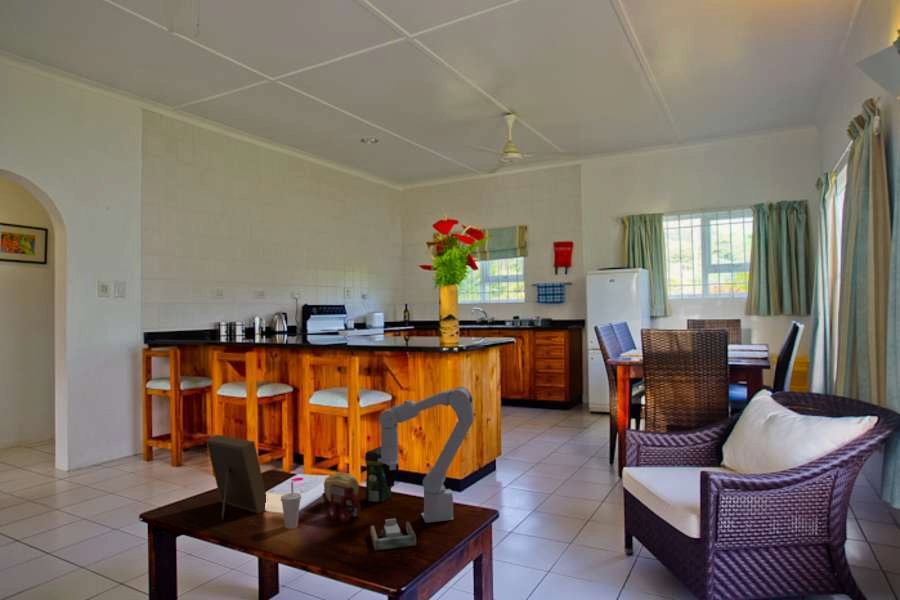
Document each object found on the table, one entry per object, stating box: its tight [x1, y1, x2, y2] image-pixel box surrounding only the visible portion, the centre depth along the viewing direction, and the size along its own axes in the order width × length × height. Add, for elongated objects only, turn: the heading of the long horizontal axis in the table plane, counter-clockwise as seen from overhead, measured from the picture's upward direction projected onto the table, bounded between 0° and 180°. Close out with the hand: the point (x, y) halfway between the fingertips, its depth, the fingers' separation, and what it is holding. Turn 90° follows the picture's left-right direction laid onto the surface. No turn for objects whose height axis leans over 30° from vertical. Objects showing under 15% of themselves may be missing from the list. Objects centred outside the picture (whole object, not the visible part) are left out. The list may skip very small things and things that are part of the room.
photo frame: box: [205, 434, 267, 520], centre depth 185 cm, size 15×22×25 cm
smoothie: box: [280, 481, 302, 530], centre depth 170 cm, size 6×6×14 cm
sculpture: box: [323, 472, 360, 503], centre depth 192 cm, size 11×12×11 cm
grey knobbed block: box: [381, 518, 404, 538], centre depth 159 cm, size 6×7×4 cm
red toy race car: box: [326, 484, 362, 523], centre depth 177 cm, size 7×12×10 cm, turn 59°
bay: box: [370, 521, 417, 551], centre depth 159 cm, size 12×12×2 cm
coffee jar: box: [364, 446, 392, 504], centre depth 195 cm, size 10×8×19 cm
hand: (390, 486), depth 178 cm, fingers closed
